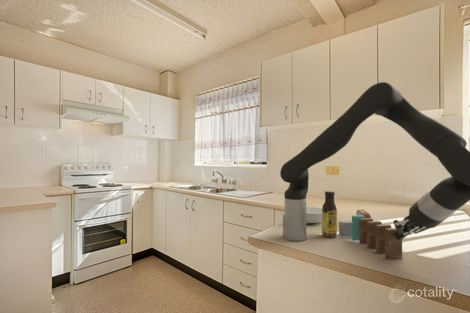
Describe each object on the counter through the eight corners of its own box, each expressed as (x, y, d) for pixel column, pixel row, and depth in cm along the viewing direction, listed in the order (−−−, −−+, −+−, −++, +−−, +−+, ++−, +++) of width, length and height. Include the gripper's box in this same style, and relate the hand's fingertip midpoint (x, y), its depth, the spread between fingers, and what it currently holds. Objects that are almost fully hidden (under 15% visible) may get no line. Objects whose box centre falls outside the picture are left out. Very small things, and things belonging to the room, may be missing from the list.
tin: (373, 233, 106) (373, 214, 106) (365, 232, 106) (365, 214, 106) (362, 224, 120) (361, 208, 121) (355, 223, 121) (355, 208, 121)
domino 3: (381, 248, 87) (381, 222, 87) (369, 248, 87) (369, 222, 87) (378, 246, 89) (378, 220, 89) (367, 247, 88) (366, 221, 88)
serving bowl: (331, 227, 114) (331, 214, 114) (288, 226, 117) (288, 212, 117) (322, 217, 135) (322, 205, 135) (286, 216, 138) (285, 204, 138)
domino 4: (391, 253, 83) (391, 225, 83) (379, 253, 82) (378, 225, 82) (388, 251, 84) (387, 224, 84) (375, 251, 84) (375, 224, 84)
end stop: (361, 235, 102) (361, 222, 102) (342, 236, 101) (342, 222, 101) (357, 233, 105) (357, 220, 105) (339, 234, 104) (338, 221, 104)
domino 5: (402, 258, 78) (401, 229, 78) (389, 259, 78) (388, 229, 78) (398, 256, 80) (398, 227, 80) (385, 257, 79) (385, 228, 79)
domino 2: (373, 243, 92) (373, 219, 92) (361, 244, 91) (361, 219, 91) (370, 242, 93) (370, 218, 94) (359, 242, 93) (359, 218, 93)
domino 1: (365, 239, 96) (365, 216, 97) (354, 240, 96) (354, 216, 96) (362, 238, 98) (362, 215, 98) (352, 239, 97) (351, 215, 98)
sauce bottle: (330, 239, 97) (329, 192, 98) (318, 235, 103) (318, 191, 103) (340, 236, 100) (340, 191, 101) (328, 232, 106) (328, 190, 106)
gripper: (443, 197, 68) (408, 226, 80) (403, 198, 67) (373, 227, 79) (463, 219, 63) (422, 247, 75) (420, 221, 62) (385, 248, 74)
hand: (397, 237), depth 77 cm, fingers closed
